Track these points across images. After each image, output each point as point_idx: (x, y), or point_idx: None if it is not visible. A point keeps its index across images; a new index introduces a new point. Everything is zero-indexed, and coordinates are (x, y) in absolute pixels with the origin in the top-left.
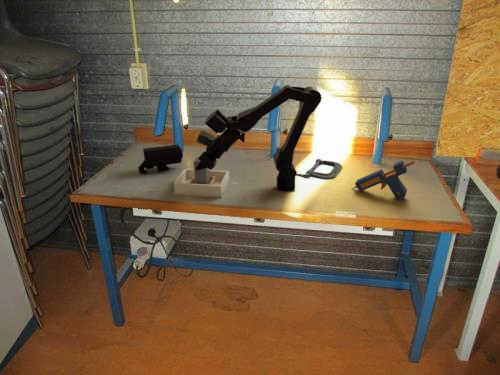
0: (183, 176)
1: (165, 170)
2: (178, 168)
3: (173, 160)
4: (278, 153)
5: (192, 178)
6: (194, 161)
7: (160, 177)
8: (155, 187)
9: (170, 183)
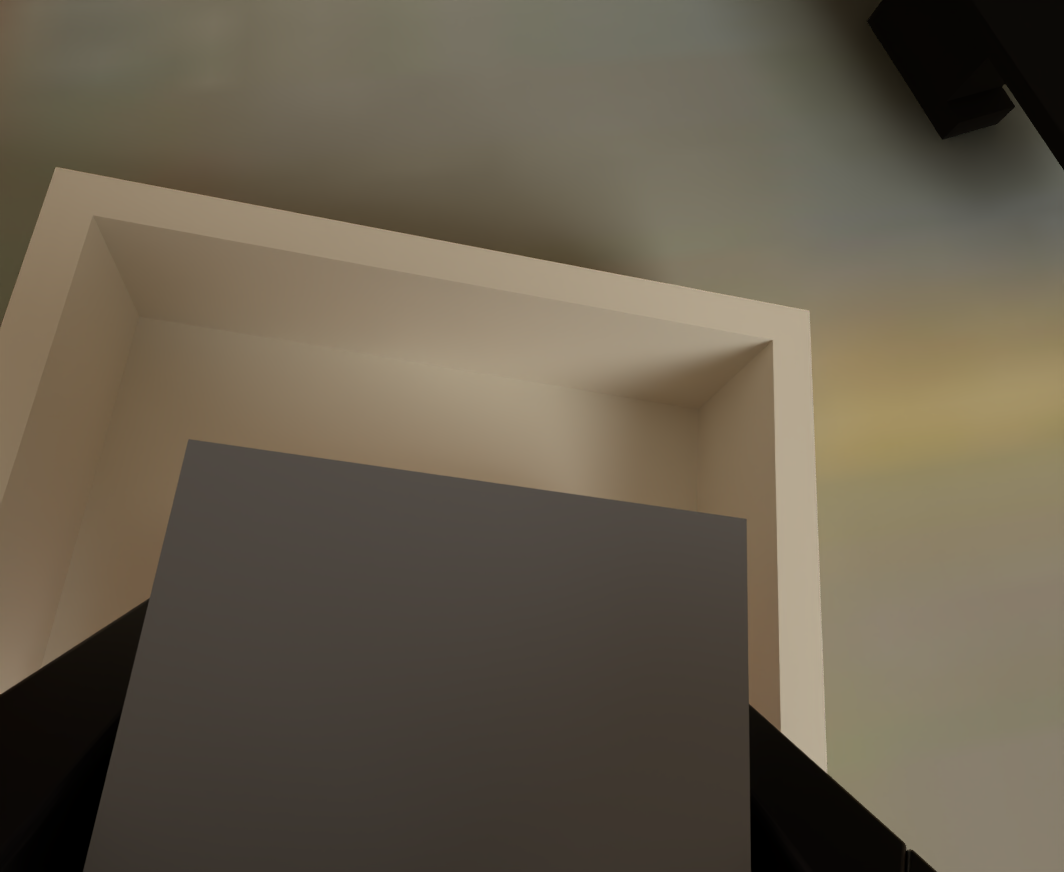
0: (548, 329)
1: (921, 94)
2: (1033, 248)
3: (1056, 81)
4: None
5: (688, 501)
6: (231, 471)
7: (710, 57)
8: (385, 21)
9: (530, 194)
